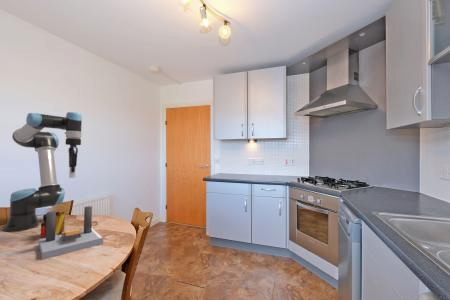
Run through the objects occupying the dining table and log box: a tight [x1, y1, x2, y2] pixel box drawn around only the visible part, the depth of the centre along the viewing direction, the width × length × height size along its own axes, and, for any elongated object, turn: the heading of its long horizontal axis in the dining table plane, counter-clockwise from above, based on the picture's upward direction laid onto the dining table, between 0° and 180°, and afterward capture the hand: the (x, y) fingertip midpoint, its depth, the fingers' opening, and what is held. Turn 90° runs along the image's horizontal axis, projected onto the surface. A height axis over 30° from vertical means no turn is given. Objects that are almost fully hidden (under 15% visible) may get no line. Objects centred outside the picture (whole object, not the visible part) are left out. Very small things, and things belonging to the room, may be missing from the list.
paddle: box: [64, 229, 81, 236], centre depth 108 cm, size 12×6×2 cm, turn 46°
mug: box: [40, 211, 66, 239], centre depth 118 cm, size 10×14×12 cm
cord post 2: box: [83, 205, 93, 233], centre depth 117 cm, size 4×4×14 cm
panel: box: [38, 227, 104, 260], centre depth 108 cm, size 20×24×7 cm
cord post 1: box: [46, 210, 57, 242], centre depth 106 cm, size 4×4×14 cm
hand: (72, 177), depth 125 cm, fingers closed
